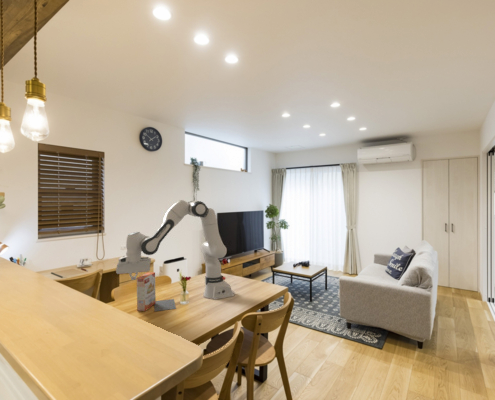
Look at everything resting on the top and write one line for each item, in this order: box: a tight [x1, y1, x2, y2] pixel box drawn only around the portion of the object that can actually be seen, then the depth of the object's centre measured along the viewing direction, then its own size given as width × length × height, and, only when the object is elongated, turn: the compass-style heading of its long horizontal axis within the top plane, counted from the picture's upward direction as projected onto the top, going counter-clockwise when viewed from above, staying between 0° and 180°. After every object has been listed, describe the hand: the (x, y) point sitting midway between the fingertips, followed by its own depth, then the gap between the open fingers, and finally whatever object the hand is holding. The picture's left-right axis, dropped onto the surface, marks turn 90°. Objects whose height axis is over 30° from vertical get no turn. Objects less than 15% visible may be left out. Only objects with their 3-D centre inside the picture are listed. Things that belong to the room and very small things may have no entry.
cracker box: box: [136, 271, 157, 312], centre depth 181 cm, size 14×6×21 cm, turn 171°
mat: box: [153, 298, 177, 312], centre depth 185 cm, size 13×18×1 cm
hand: (133, 279), depth 179 cm, fingers closed
